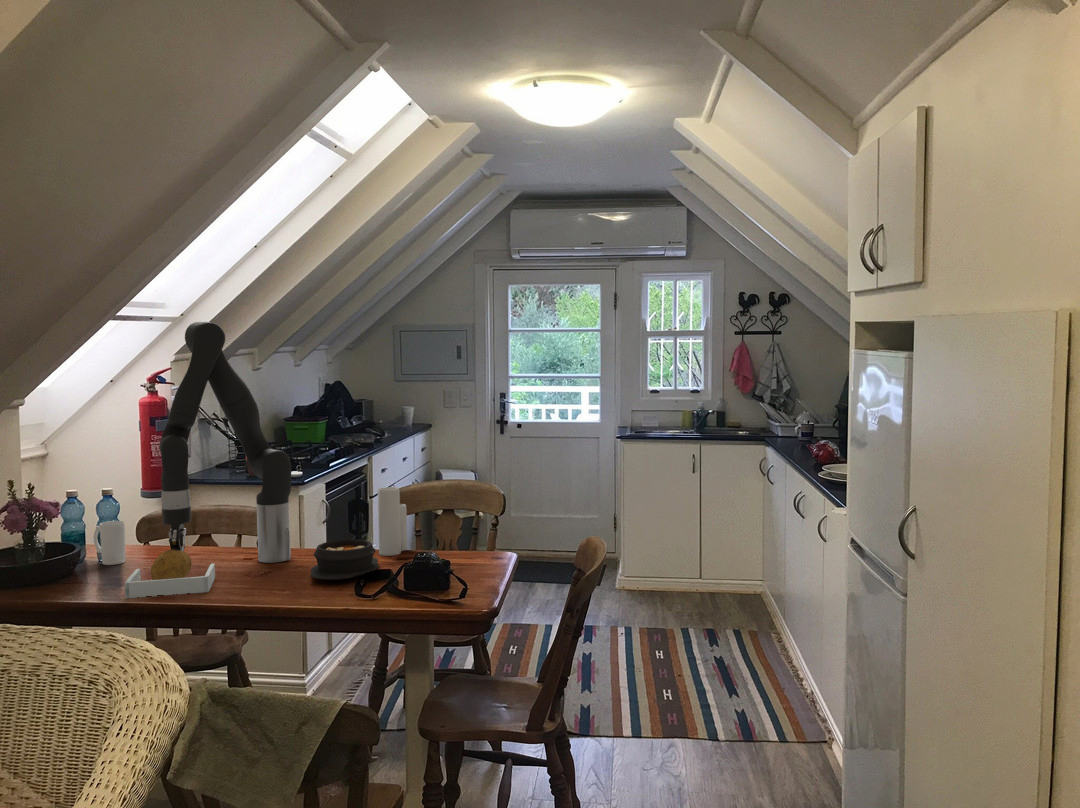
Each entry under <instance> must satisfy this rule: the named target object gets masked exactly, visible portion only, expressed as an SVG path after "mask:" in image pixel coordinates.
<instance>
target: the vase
mask: <svg viewBox="0 0 1080 808" xmlns="http://www.w3.org/2000/svg"><path fill="white" fill-rule="evenodd" d="M400 492H401V490H400V488H399V487H395V486H386V487H385V486H383V487H379V488H377V515H378V518H377V519H378V520H377V521H378V553H379V555H380V556H384V557H385V556H389V557H391V556H398V555H400V554H401V553H402V552H404V551H407V550H408V528H407V527H408V523H407V522H408V521H407V519H408V518H407V517H408V516H407V504H405V503H401V501H400V500H401V499H400V498H401V497H400V496H401V495H400V494H401V493H400Z"/></svg>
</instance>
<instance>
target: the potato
mask: <svg viewBox="0 0 1080 808" xmlns="http://www.w3.org/2000/svg"><path fill="white" fill-rule="evenodd" d="M192 563H193V562H192V558H191V557H190V555H189V554H188V553H187V552H185V551H184V552H183V551H179V550H171V549H167V550H165V551H163V552H161V553H159V555H158V556H157V558H156V559H154V561H153V563H152V564H151V566H150V580H160V579H174V578H187V576H188V574H189V573H190V571H191V569H192V565H193V564H192Z"/></svg>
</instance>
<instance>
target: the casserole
mask: <svg viewBox="0 0 1080 808" xmlns="http://www.w3.org/2000/svg"><path fill="white" fill-rule="evenodd" d="M376 551H377V550H376V548H374V546H373V543H372V542H371V541H370V540H369V541H368V540H366V539H352V538H351V539H350V538H349V539H348V538H347V539H337V540H331V541H330V540H329V541H326V542H323V543H320V544H318V545H317V547H316V549H315V551H314V553H313V557H314V558H315V559H316V565H313V567H311V569H310V572H311V573H310V576H309V577H310V578H312V579H315V580H324V581H325V580H326V581H339V580H340V581H341V580H348V579H355V578H359V577H361V576H364V575H363V574H365V573H367V572H369V573H371V572H370V571H372V572H374V571H376V570H377V569H378V568H380V565H379V563H378V562H379V559H378V558H376V557H374V554H375V553H376ZM367 574H368V573H367ZM365 575H366V574H365Z"/></svg>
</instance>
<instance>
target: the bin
mask: <svg viewBox="0 0 1080 808" xmlns="http://www.w3.org/2000/svg"><path fill="white" fill-rule="evenodd" d="M141 576H142V575H141V568H136V569H135V570H134V571H133V572H132V573H131V575H130V576H129V577H128V578H127V579H126V581H125V582H124V599H125V600H126V599H136V598H137V597H139V598H147V597H146V596H152V597H158V596H157V595H164V596H174V595H175V596H176V594H177V595H188V594H187V593H190V594H200V593H201V594H202V593H209V592H210V590H211V588H212V586H213V584H214V581H215V579H216V563H211V564H210V565H209V567H208V568H207V571H206V572H205V575H204V576H203V575H201V576H190V577H187V576H186V577H185V578H174V579H160V580H152V579H150V580H141V579H142V578H141ZM173 594H174V595H173Z"/></svg>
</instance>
